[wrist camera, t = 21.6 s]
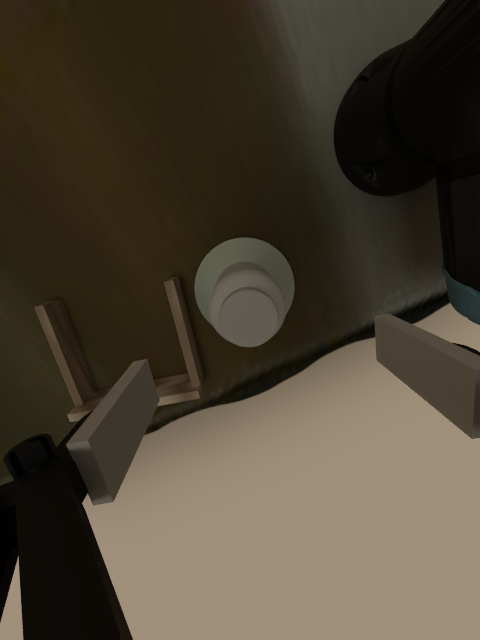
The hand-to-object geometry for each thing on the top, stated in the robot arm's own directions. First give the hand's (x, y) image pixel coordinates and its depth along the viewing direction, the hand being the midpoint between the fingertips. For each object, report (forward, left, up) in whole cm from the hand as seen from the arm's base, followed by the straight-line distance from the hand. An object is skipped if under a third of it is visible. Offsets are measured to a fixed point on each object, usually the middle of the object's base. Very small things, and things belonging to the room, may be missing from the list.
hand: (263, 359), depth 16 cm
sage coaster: (0, 0, -25) cm, 25 cm away
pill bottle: (0, 0, -24) cm, 24 cm away
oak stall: (+18, +4, -25) cm, 31 cm away
